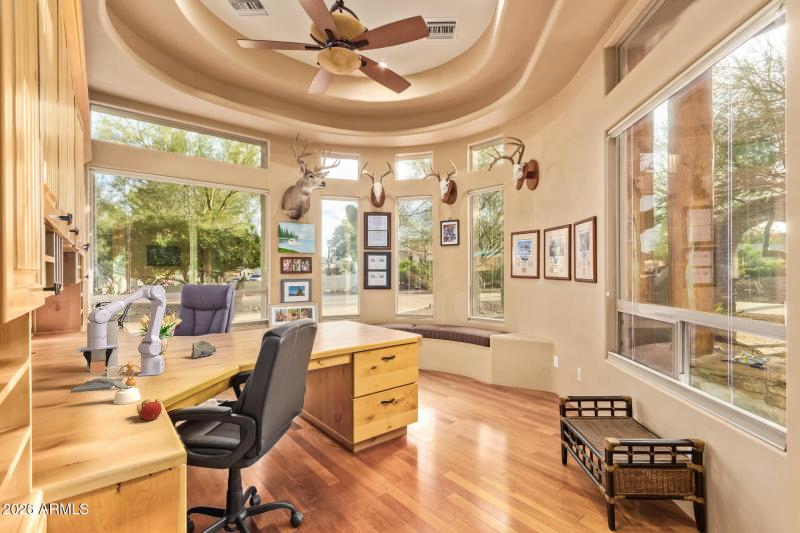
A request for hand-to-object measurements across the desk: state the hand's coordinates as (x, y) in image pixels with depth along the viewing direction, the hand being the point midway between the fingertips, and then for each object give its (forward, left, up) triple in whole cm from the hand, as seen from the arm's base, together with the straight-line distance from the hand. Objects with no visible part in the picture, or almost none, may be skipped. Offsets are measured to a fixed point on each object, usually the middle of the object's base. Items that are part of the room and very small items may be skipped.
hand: (98, 367), depth 167 cm
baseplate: (0, 0, -8) cm, 8 cm away
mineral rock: (-33, -49, -9) cm, 60 cm away
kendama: (-33, +44, -9) cm, 56 cm away
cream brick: (+1, -20, -9) cm, 22 cm away
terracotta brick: (0, 0, -2) cm, 2 cm away
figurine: (-15, +8, -9) cm, 19 cm away
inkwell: (-16, +26, -9) cm, 32 cm away
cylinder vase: (+12, -34, -9) cm, 37 cm away
